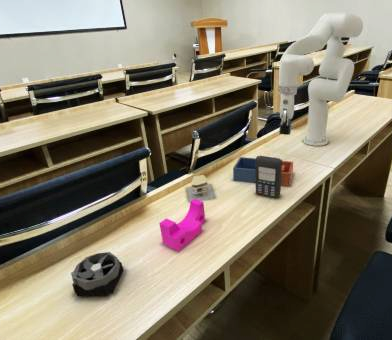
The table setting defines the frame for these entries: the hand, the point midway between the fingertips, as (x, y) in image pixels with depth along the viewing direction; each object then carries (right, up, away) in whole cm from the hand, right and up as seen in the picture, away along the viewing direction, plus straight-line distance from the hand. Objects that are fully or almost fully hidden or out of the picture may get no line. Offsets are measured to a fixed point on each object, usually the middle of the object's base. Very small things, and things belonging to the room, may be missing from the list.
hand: (285, 131), depth 133 cm
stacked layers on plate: (-34, -25, -17) cm, 46 cm away
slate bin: (-16, -19, -6) cm, 25 cm away
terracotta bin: (-4, -20, -9) cm, 22 cm away
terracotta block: (-4, -19, -9) cm, 22 cm away
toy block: (-35, -36, -38) cm, 63 cm away
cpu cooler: (-54, -45, -55) cm, 89 cm away
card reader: (-9, -26, -19) cm, 34 cm away
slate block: (0, 0, 0) cm, 0 cm away
